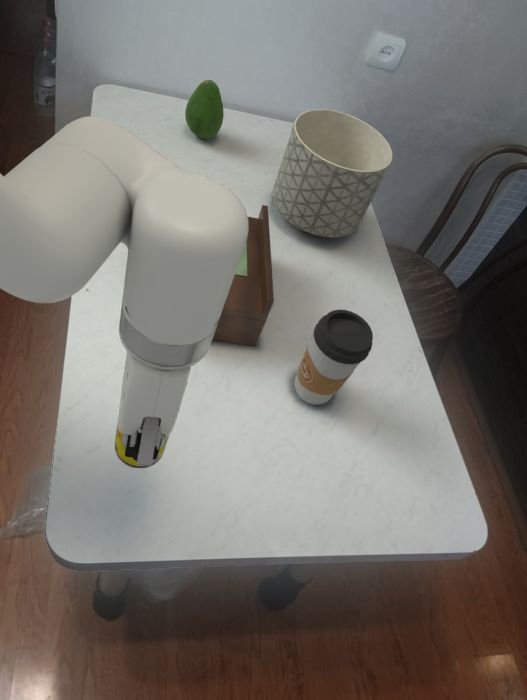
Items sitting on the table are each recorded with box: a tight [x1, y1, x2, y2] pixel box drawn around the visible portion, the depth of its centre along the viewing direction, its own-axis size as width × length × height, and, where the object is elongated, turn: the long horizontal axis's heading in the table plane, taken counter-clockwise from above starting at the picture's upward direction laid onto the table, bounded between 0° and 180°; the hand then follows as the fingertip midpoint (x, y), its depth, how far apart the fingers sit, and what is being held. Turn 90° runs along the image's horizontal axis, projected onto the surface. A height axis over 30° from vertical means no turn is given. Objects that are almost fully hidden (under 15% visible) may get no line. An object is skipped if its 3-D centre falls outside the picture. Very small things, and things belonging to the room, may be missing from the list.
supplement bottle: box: [114, 427, 171, 470], centre depth 57 cm, size 6×6×10 cm
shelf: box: [212, 204, 275, 347], centre depth 88 cm, size 14×22×11 cm, turn 2°
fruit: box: [184, 79, 225, 140], centre depth 114 cm, size 8×8×12 cm
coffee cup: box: [293, 309, 374, 406], centre depth 79 cm, size 8×8×15 cm
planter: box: [271, 108, 394, 239], centre depth 105 cm, size 19×19×18 cm
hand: (144, 427), depth 57 cm, fingers closed on supplement bottle, 5 cm apart
